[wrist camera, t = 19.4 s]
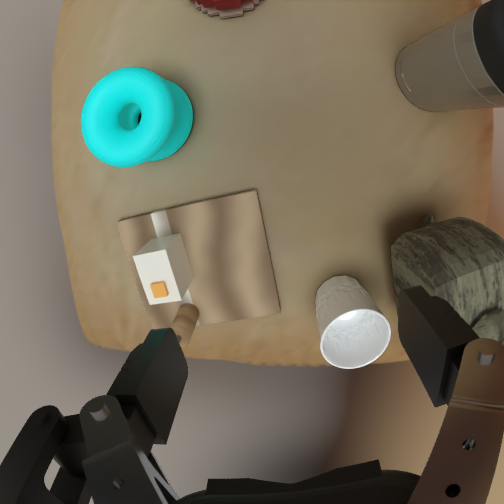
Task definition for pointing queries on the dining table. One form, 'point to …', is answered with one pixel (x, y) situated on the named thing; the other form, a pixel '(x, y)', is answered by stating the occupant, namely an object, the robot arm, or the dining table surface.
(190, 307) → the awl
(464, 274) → the tabletop clock
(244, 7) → the cake
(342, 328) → the white cup
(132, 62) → the dining table surface
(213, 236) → the board
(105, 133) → the donuts
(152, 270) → the white block
